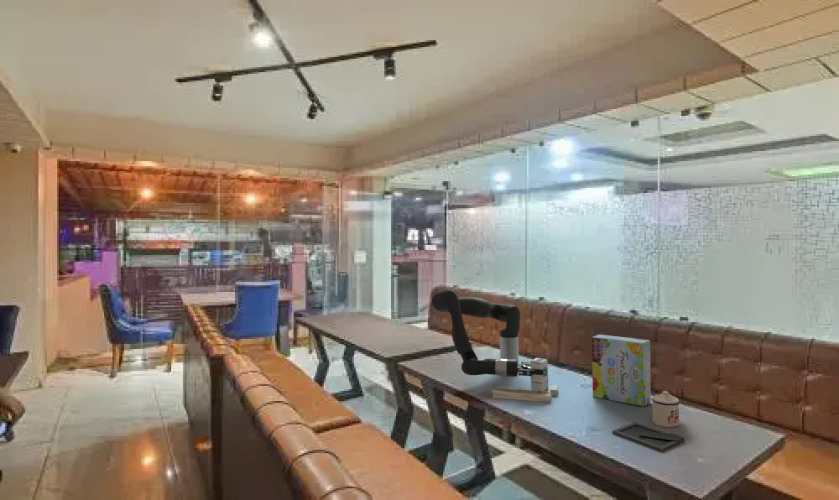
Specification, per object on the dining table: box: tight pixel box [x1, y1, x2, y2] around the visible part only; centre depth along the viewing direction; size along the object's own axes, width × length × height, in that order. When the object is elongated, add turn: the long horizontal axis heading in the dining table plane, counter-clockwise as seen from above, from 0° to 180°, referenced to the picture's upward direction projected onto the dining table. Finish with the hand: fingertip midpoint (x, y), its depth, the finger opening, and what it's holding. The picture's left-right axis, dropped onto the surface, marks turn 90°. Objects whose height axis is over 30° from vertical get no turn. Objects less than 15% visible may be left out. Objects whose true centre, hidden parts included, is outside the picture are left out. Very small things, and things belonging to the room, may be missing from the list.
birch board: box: [492, 387, 552, 403], centre depth 214 cm, size 6×24×3 cm, turn 73°
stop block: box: [549, 384, 559, 397], centre depth 219 cm, size 7×3×2 cm, turn 163°
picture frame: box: [612, 421, 685, 453], centre depth 171 cm, size 13×2×18 cm
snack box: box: [591, 334, 652, 407], centre depth 209 cm, size 22×9×26 cm, turn 47°
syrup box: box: [529, 357, 549, 391], centre depth 220 cm, size 6×6×14 cm
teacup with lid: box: [651, 390, 681, 428], centre depth 184 cm, size 12×9×12 cm
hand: (543, 369), depth 220 cm, fingers open, 8 cm apart
